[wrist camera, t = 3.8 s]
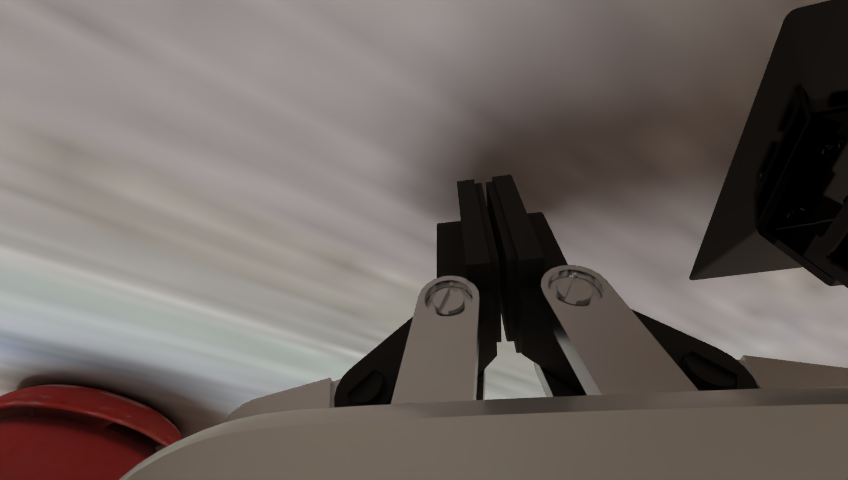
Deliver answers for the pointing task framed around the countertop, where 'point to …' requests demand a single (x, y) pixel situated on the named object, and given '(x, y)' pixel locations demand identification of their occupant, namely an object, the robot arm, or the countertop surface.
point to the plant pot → (77, 433)
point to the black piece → (790, 160)
